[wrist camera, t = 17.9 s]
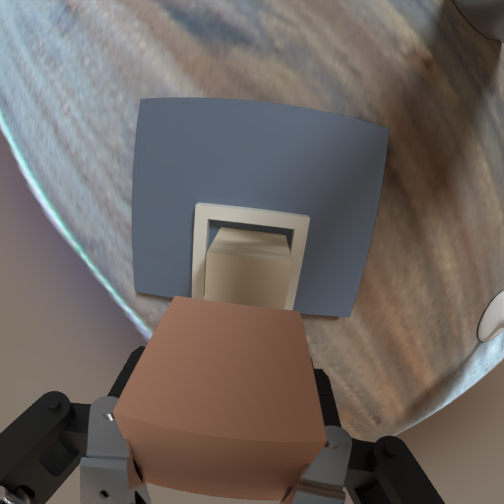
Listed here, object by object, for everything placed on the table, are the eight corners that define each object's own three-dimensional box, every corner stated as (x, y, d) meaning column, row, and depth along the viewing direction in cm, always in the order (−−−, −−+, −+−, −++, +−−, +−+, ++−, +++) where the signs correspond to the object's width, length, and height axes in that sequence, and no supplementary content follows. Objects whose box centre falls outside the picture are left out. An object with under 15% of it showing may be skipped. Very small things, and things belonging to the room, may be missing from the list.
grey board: (382, 129, 19) (395, 127, 17) (345, 309, 25) (352, 323, 23) (147, 102, 19) (135, 96, 17) (141, 284, 25) (130, 296, 23)
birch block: (284, 234, 21) (293, 262, 16) (275, 291, 23) (279, 332, 17) (221, 226, 21) (206, 252, 16) (216, 284, 23) (203, 323, 17)
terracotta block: (300, 311, 11) (326, 441, 5) (278, 393, 12) (283, 500, 7) (175, 295, 11) (112, 412, 5) (178, 380, 12) (146, 482, 7)
